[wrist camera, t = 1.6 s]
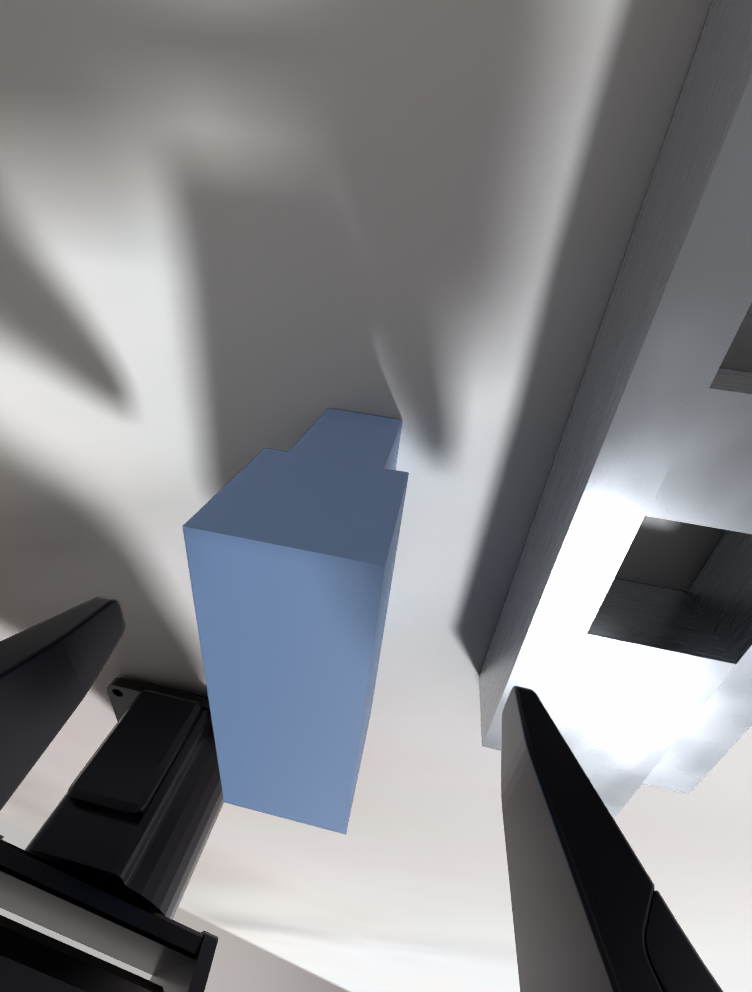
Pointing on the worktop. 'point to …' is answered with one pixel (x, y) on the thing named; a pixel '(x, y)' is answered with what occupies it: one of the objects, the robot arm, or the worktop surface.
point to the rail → (653, 473)
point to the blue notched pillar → (298, 613)
